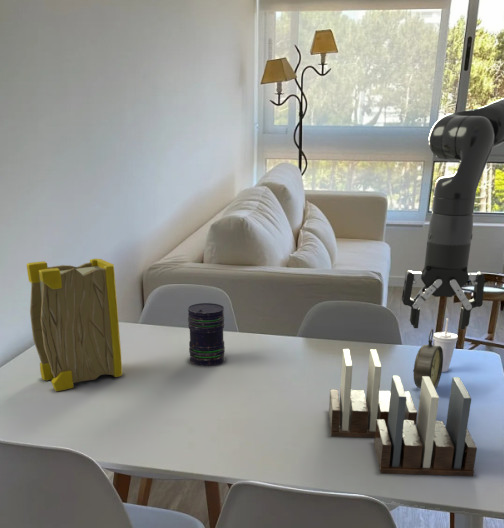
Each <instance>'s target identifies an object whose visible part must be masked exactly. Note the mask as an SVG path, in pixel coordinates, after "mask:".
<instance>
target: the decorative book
mask: <svg viewBox="0 0 504 528" xmlns="http://www.w3.org/2000/svg"><path fill="white" fill-rule="evenodd" d="M26 271H27V277H28V282H29V283H31V284H30V285H31V286H30V307H29V315H30V316H29V317H30V323H31V332H32V333H31V334H32V340H33V343H34V346H35V349H36V351H37V354H38V357H39V361H40V362H39V370H40V371H39V372H40V376H41V379H42V380H43V381H45V382H46V381H50V382H51V386H52V387H53V389H54V391H55V392H61V391H66V390H71V389H74V388H75V386H74V384H75V383H81V382H86V381H94V380H96V379H98V378H99V377H100V376H102V375H110V376H112V377H114V378H118V377H121V376H123V365H122V364H123V363H122V349H121V335H120V334H121V333H120V321H119V310H118V309H119V308H118V299H117V297H118V296H117V285H116V274H115V264H113V263H111V262H109V261H106V260H104V259H102V258H92V259H89V262H84V263H83V264H80V265H78V266H74V265H70V264H68V265H66V264H61V265H60V264H59V265H54V266H48V263H47V262H46V261H45V260H44V261H43V260H42V261H34V262H27V263H26Z"/></svg>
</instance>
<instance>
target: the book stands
mask: <svg viewBox="0 0 504 528" xmlns="http://www.w3.org/2000/svg"><path fill="white" fill-rule="evenodd" d="M404 391H405V390H404ZM390 394H391V390H379V401H378V412H377V420H376V431H369V427H368V407H367V402H366V394H365V390H364V389H351V396H350V410H349V425H348V431H342V429H341V421H340V405H339V404H340V396H339V391H338V389H335V388H334V389H332V388H331V389H329V402H328V403H329V404H328V406H329V407H328V418H329V419H328V420H329V429H330V437H336V438H337V437H339V438H341V437H342V438H374V440H373V446H374V450H375V455H376V459H377V464H378V468H379V473H380V474H389V475H390V474H392V475H393V474H394V475H420V476H421V475H424V476H428V475H429V476H454V477H455V476H456V477H457V476H458V477H474V474H475V471H474V469H475V462H476V456H477V450H478V447H477V444H476V443H475V441H474V439H473V437H472V435H471V434H470V431H469V429H468V428H467V431H466V438H465V445H464V451H463V458H462V465H461V469H454V468H453V465H452V460H453V453H454V445H453V443H452V441H451V439H450V436H449V434H448V432H447V429H446V424H445V422H444V421H443V420H436V425H435V433H434V440H433V448H432V456H431V464H430V468H423V467H422V464H421V457H422V449H423V446H422V443H421V440H420V437H419V434H418V431H417V429H416V426H417V418H418V410H417V409H416V406H415V403H414V401H413V398H412V395H411V392H410V391H409V390H408V391H407V390H406V391H405V394H406V397H407V398H406V407H405V417H404V426H403V435H402V445H401V454H400V463H399V467H392V464H391V460H390V455H391V442H390V438H389V434H388V431H387V425H388V415H389V404H390Z"/></svg>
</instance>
